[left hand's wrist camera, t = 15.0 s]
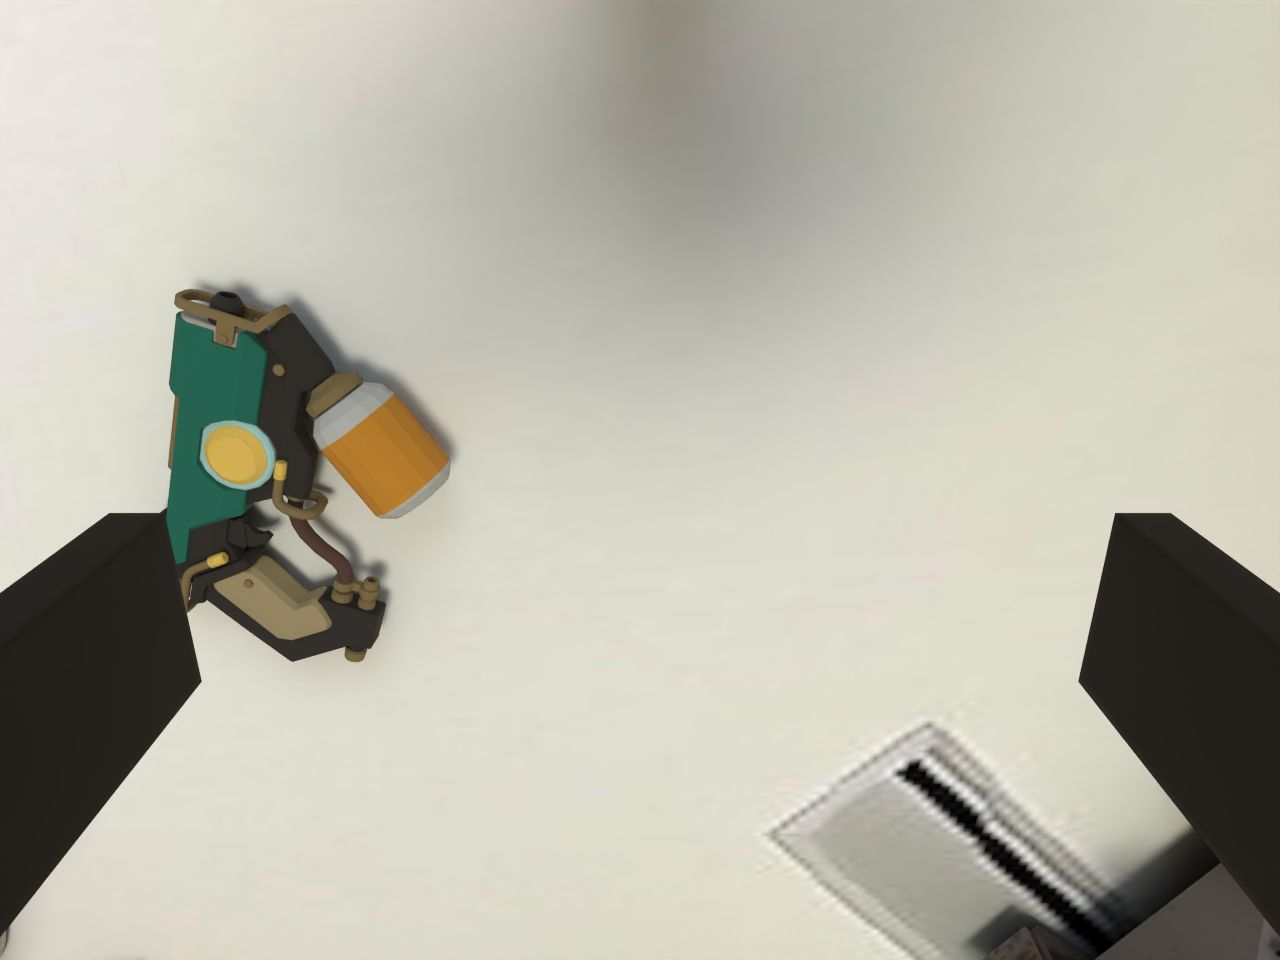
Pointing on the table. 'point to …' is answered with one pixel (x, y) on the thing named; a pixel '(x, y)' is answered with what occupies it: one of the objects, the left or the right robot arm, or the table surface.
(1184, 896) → the toy
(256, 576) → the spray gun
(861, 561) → the table surface
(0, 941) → the bust sculpture
